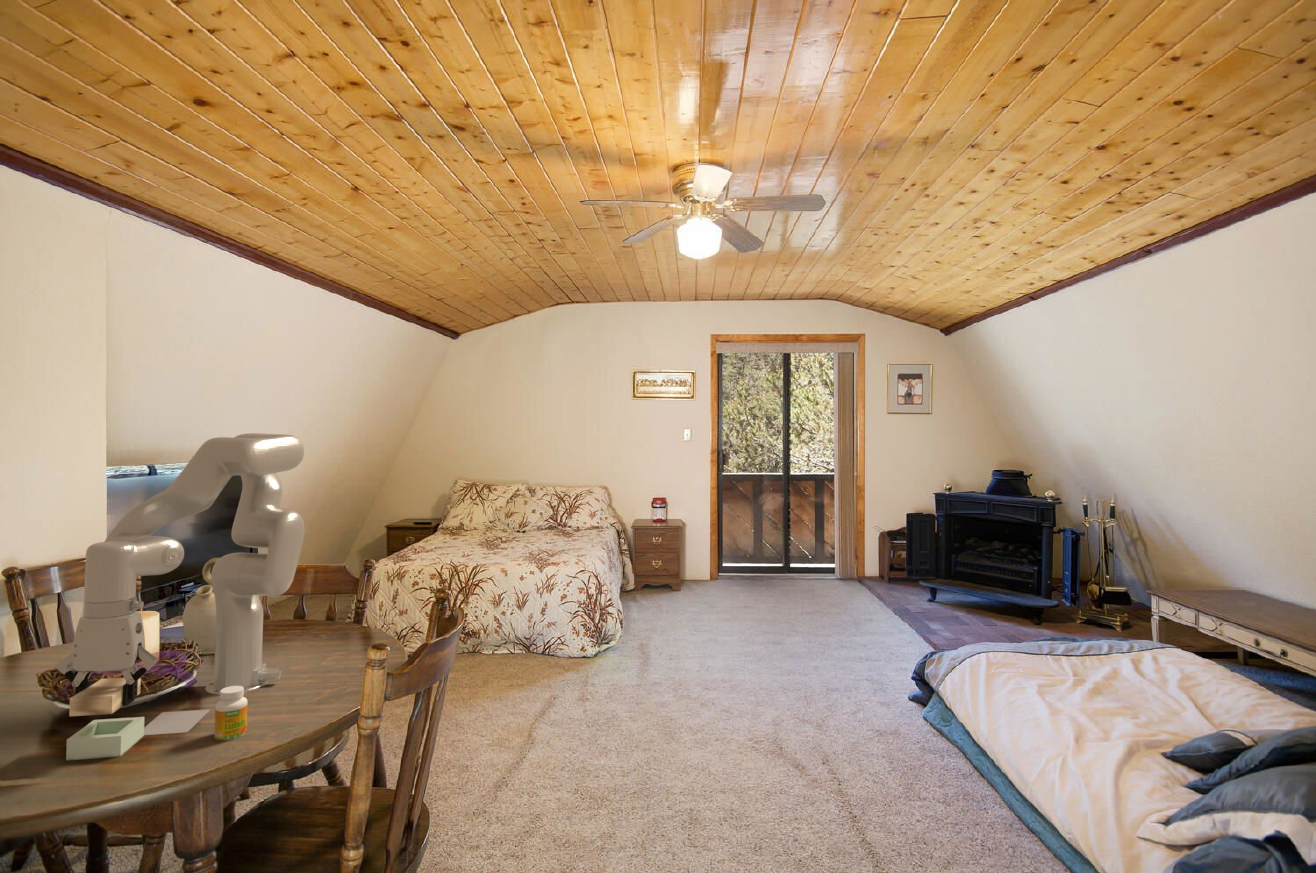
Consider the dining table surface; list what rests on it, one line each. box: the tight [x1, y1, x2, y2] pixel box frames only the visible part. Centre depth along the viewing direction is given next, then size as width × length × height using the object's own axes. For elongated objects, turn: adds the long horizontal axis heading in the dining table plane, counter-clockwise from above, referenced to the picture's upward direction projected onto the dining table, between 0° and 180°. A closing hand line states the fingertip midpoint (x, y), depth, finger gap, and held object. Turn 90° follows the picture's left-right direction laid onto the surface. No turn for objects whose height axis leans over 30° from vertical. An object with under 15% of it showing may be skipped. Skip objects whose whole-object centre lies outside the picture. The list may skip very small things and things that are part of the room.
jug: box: [182, 557, 221, 656], centre depth 184 cm, size 15×16×25 cm
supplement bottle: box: [213, 686, 248, 742], centre depth 132 cm, size 5×5×10 cm
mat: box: [144, 709, 210, 736], centre depth 136 cm, size 9×11×1 cm
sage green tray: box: [65, 716, 145, 761], centre depth 125 cm, size 8×8×4 cm
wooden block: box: [68, 677, 142, 717], centre depth 125 cm, size 6×10×3 cm, turn 14°
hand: (106, 703), depth 125 cm, fingers closed on wooden block, 6 cm apart
